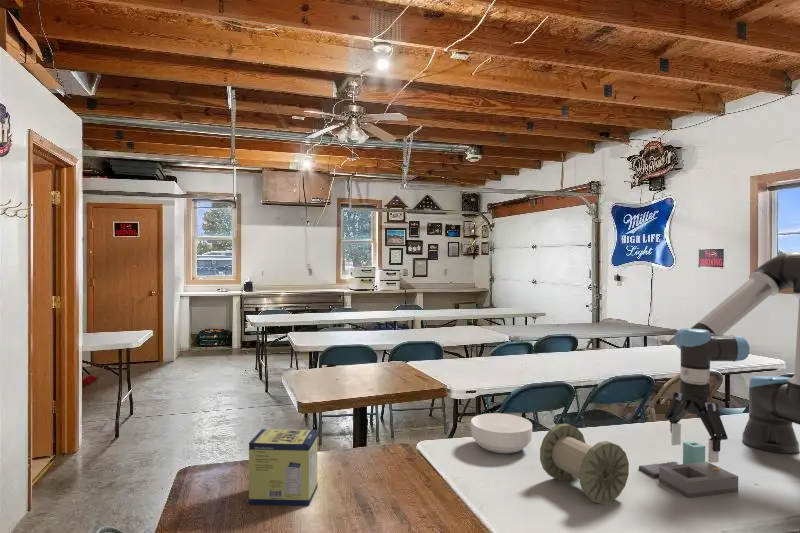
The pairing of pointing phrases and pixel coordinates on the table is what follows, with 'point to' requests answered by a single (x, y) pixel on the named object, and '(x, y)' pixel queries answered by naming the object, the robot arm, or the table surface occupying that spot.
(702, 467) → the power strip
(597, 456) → the spool
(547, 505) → the table surface
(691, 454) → the block
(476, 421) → the bowl
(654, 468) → the phone
